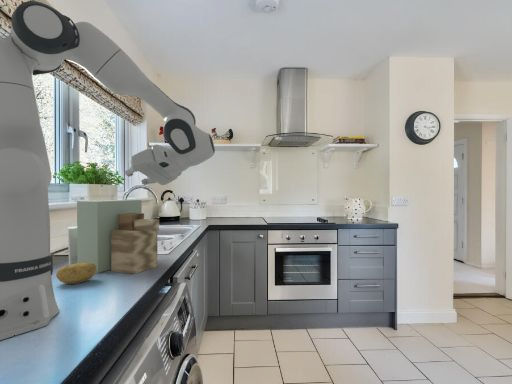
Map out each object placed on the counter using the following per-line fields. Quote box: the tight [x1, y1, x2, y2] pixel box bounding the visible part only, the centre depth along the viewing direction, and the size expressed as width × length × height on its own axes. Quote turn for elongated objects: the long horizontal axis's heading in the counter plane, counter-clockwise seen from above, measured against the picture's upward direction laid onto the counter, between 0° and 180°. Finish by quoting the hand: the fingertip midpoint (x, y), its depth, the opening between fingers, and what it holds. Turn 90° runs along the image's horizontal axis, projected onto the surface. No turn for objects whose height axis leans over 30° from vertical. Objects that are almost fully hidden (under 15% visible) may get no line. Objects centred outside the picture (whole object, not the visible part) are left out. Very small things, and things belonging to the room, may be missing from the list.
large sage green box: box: [76, 199, 143, 274], centre depth 114 cm, size 20×12×26 cm, turn 154°
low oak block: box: [110, 230, 159, 275], centre depth 109 cm, size 12×11×15 cm
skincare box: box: [67, 225, 77, 265], centre depth 115 cm, size 8×7×16 cm
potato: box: [55, 262, 97, 285], centre depth 92 cm, size 7×11×6 cm, turn 114°
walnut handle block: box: [118, 212, 160, 232], centre depth 107 cm, size 6×16×6 cm, turn 64°
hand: (135, 178), depth 98 cm, fingers open, 8 cm apart
